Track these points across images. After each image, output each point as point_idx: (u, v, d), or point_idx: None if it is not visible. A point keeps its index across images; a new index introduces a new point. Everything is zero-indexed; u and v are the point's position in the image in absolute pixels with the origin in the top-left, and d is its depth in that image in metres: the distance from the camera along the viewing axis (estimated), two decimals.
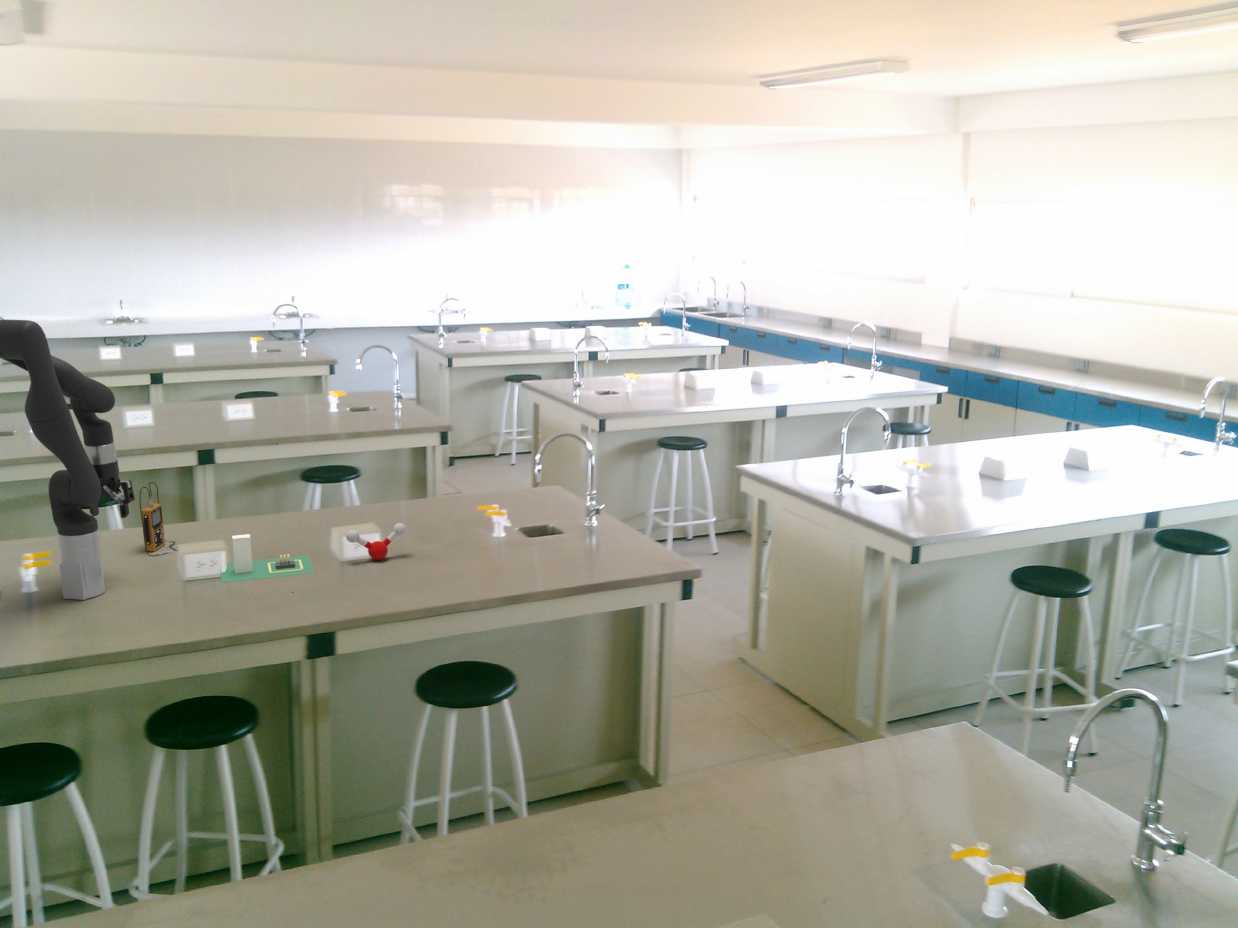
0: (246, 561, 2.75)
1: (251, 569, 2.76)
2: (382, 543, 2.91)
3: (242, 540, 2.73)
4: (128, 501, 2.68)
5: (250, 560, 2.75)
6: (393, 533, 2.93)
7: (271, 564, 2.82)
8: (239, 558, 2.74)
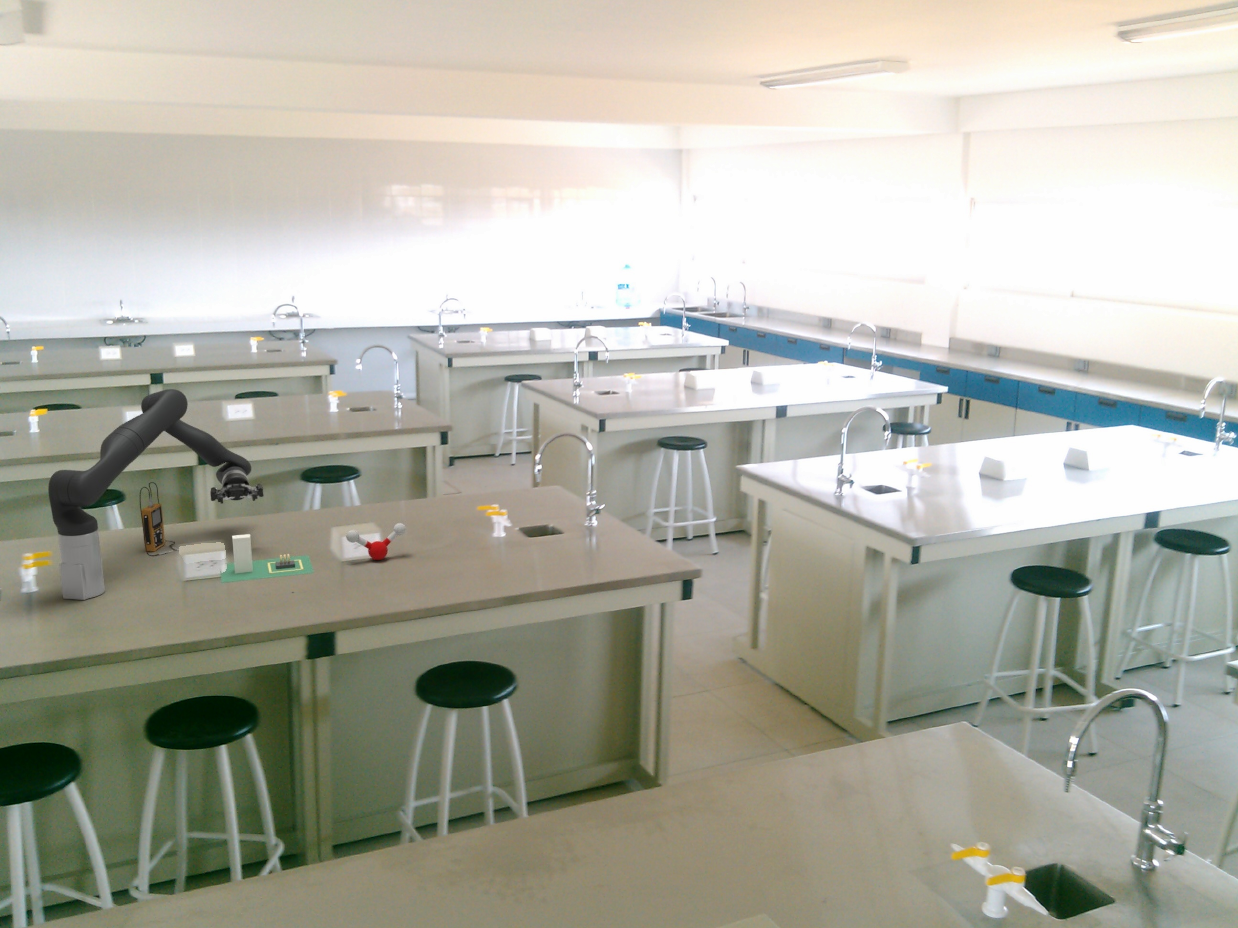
0: (246, 561, 2.75)
1: (251, 569, 2.76)
2: (382, 543, 2.91)
3: (242, 540, 2.73)
4: (261, 488, 2.90)
5: (250, 560, 2.75)
6: (393, 533, 2.93)
7: (271, 564, 2.82)
8: (239, 558, 2.74)
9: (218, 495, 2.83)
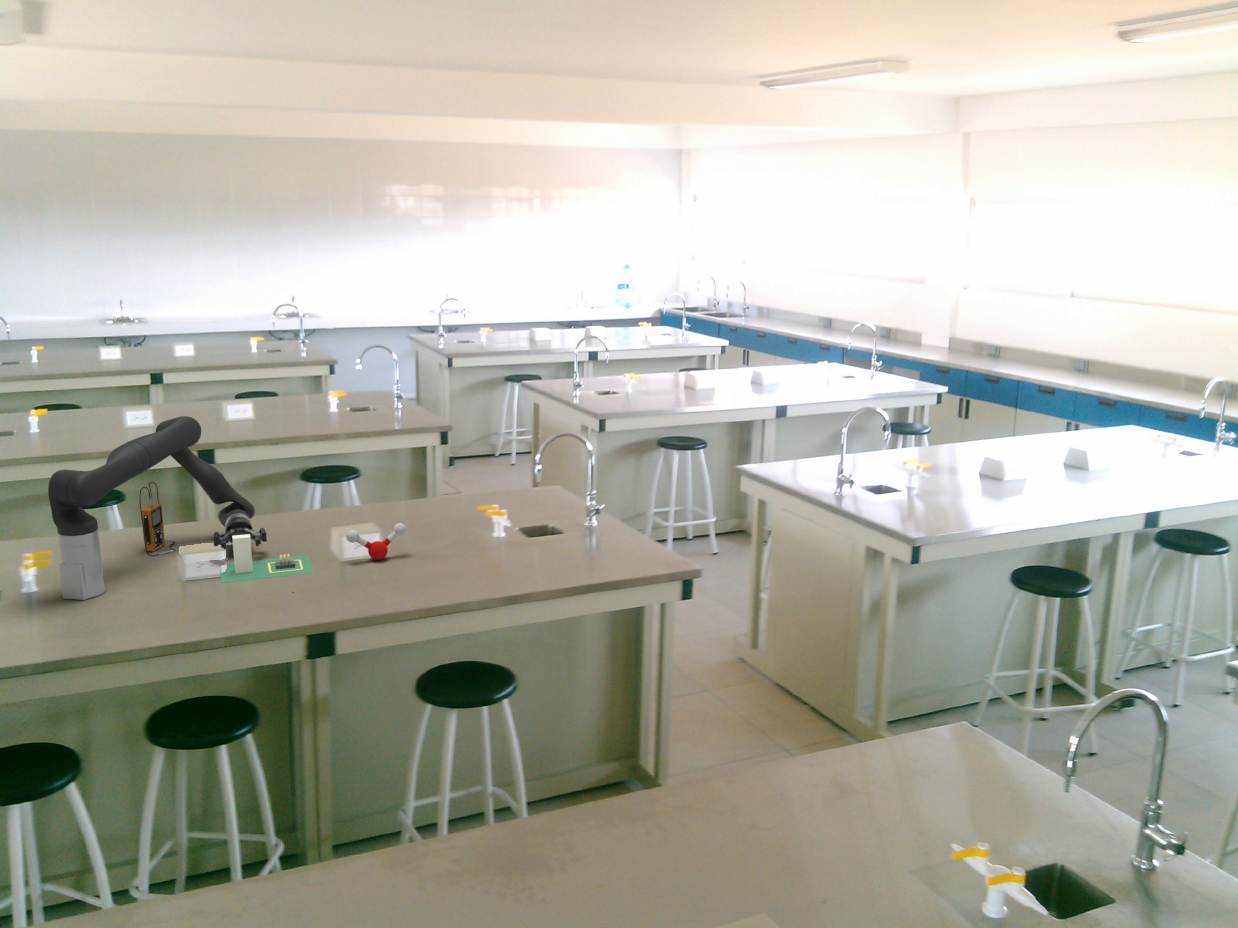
0: (246, 561, 2.75)
1: (251, 569, 2.76)
2: (382, 543, 2.91)
3: (242, 540, 2.73)
4: (265, 532, 2.87)
5: (250, 560, 2.75)
6: (393, 533, 2.93)
7: (271, 564, 2.82)
8: (239, 558, 2.74)
9: (221, 540, 2.81)
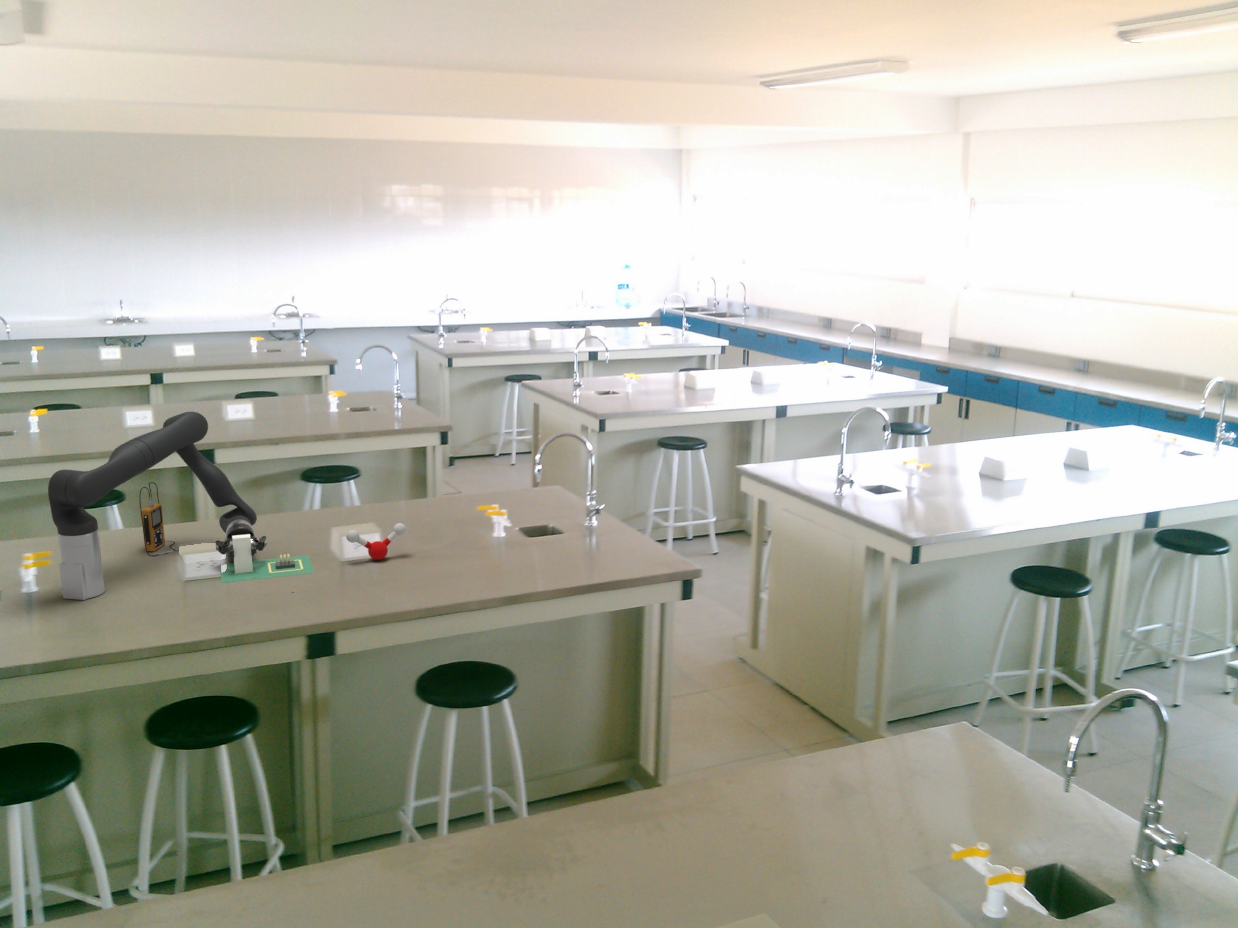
0: (246, 561, 2.75)
1: (251, 569, 2.76)
2: (382, 543, 2.91)
3: (242, 540, 2.73)
4: (261, 541, 2.79)
5: (250, 560, 2.75)
6: (393, 533, 2.93)
7: (271, 564, 2.82)
8: (239, 558, 2.74)
9: (229, 549, 2.74)
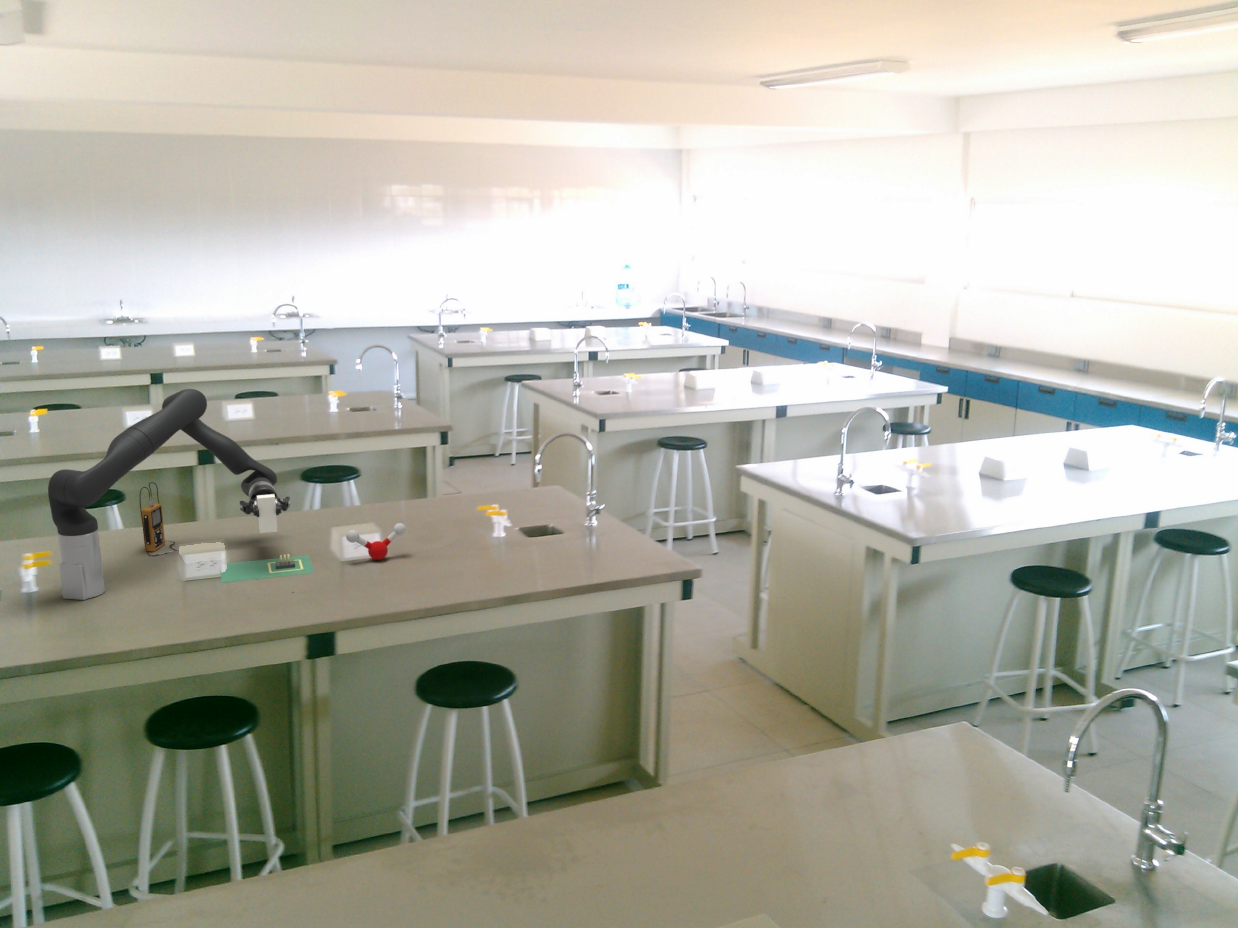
0: (271, 521, 2.76)
1: (276, 529, 2.77)
2: (382, 543, 2.91)
3: (267, 500, 2.74)
4: (285, 501, 2.80)
5: (275, 520, 2.76)
6: (393, 533, 2.93)
7: (271, 564, 2.82)
8: (264, 518, 2.75)
9: (254, 508, 2.75)
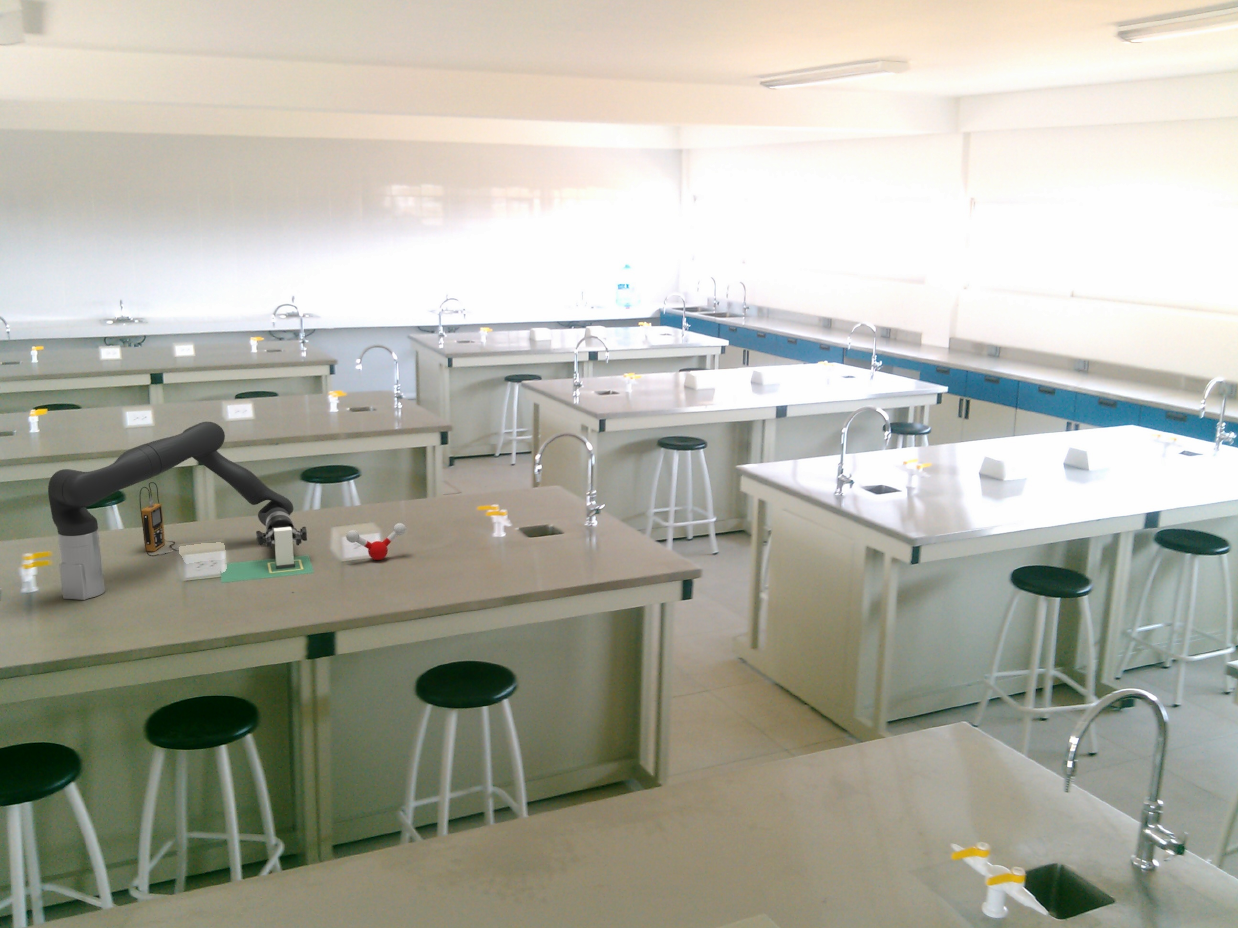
0: (287, 553, 2.79)
1: (292, 561, 2.80)
2: (382, 543, 2.91)
3: (284, 533, 2.77)
4: (305, 531, 2.84)
5: (291, 552, 2.79)
6: (393, 533, 2.93)
7: (271, 564, 2.82)
8: (281, 550, 2.78)
9: (266, 539, 2.78)
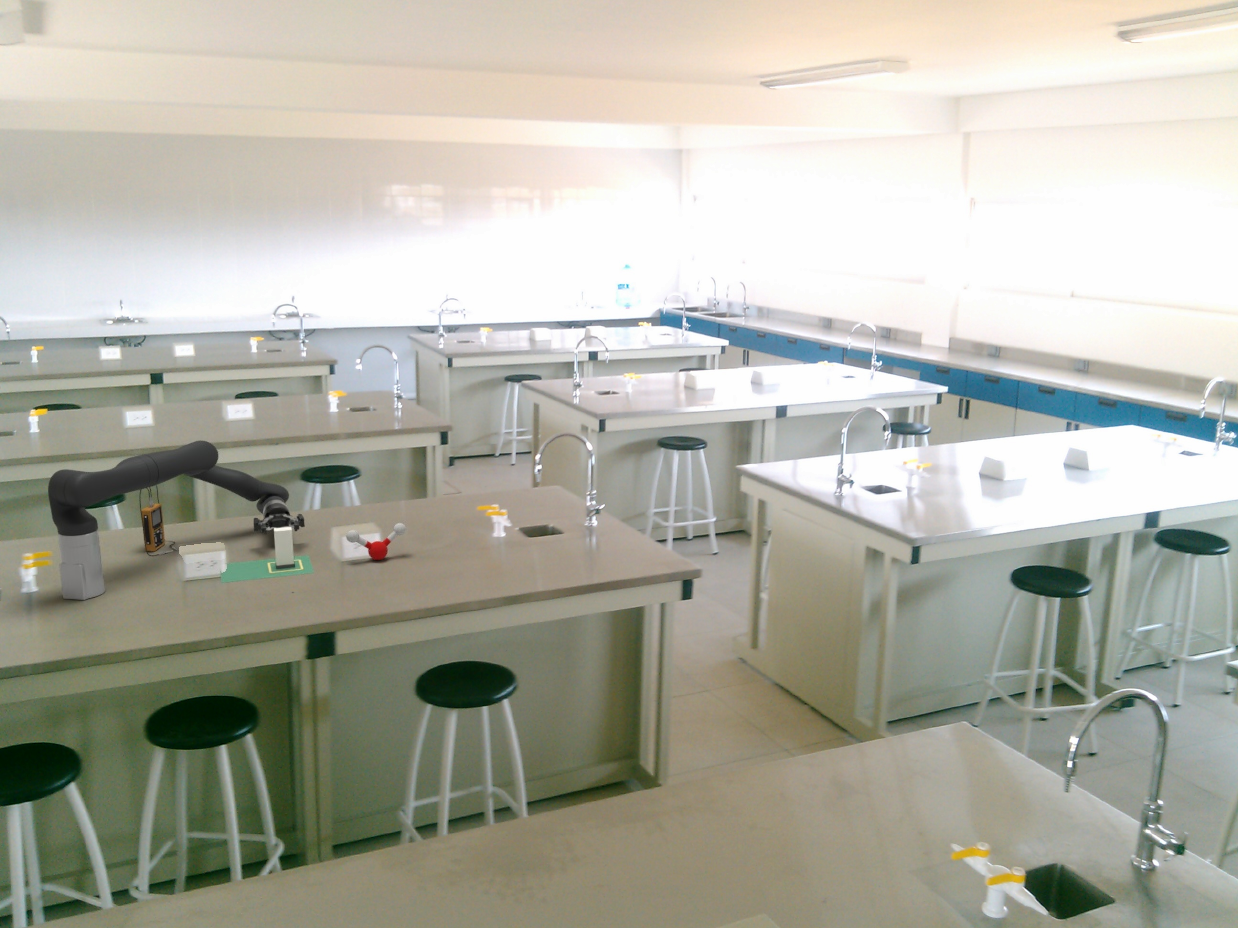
0: (287, 553, 2.79)
1: (292, 561, 2.80)
2: (382, 543, 2.91)
3: (284, 533, 2.77)
4: (303, 518, 2.96)
5: (291, 552, 2.79)
6: (393, 533, 2.93)
7: (271, 564, 2.82)
8: (281, 550, 2.78)
9: (261, 526, 2.90)
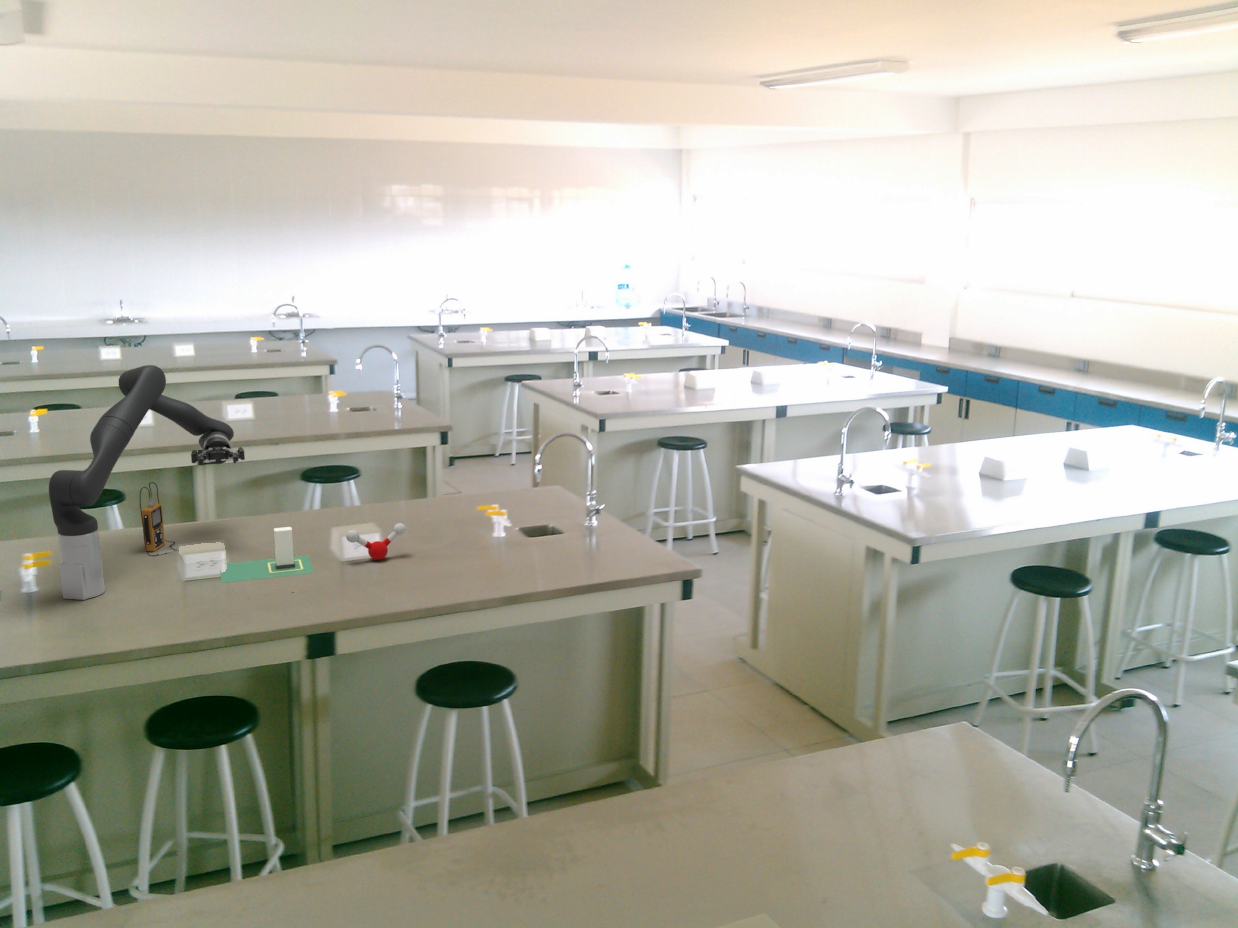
0: (287, 553, 2.79)
1: (292, 561, 2.80)
2: (382, 543, 2.91)
3: (284, 533, 2.77)
4: (243, 451, 2.88)
5: (291, 552, 2.79)
6: (393, 533, 2.93)
7: (271, 564, 2.82)
8: (281, 550, 2.78)
9: (199, 457, 2.82)
